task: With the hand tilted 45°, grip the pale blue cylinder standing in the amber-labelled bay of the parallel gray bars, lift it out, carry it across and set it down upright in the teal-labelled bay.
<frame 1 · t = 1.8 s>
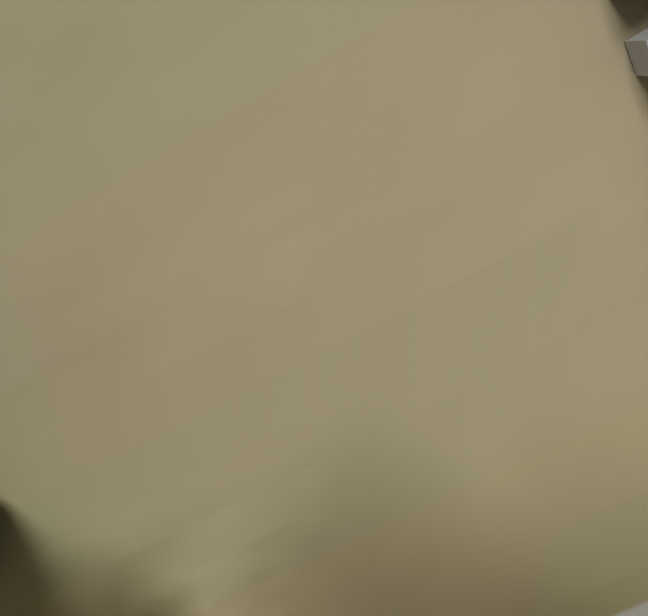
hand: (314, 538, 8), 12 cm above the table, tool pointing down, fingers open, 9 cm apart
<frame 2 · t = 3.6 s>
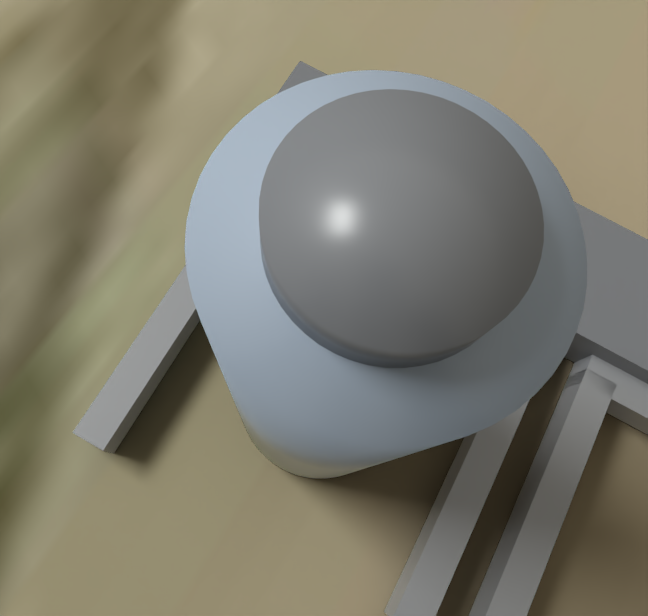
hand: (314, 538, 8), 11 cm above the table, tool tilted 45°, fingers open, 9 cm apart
parallel gray bars: (490, 509, 18), on the table
pale blue cylinder: (320, 395, 19), on the table
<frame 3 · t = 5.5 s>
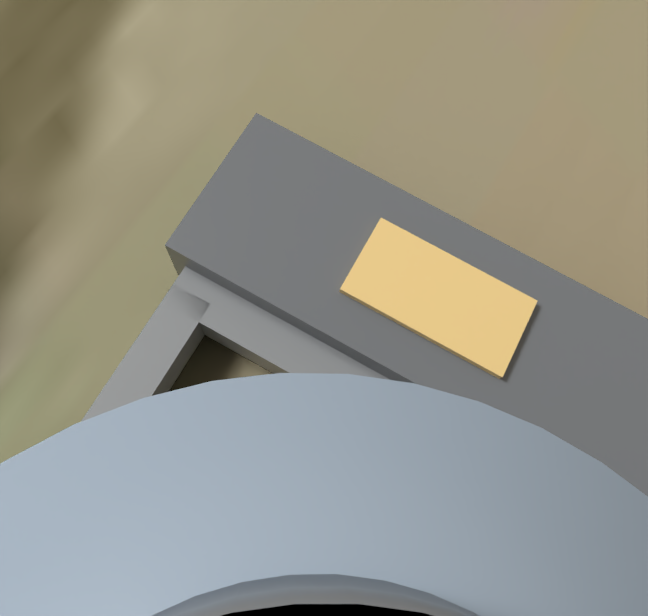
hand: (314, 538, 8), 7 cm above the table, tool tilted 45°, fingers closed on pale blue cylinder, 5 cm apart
pale blue cylinder: (281, 580, 14), on the table, touching gripper
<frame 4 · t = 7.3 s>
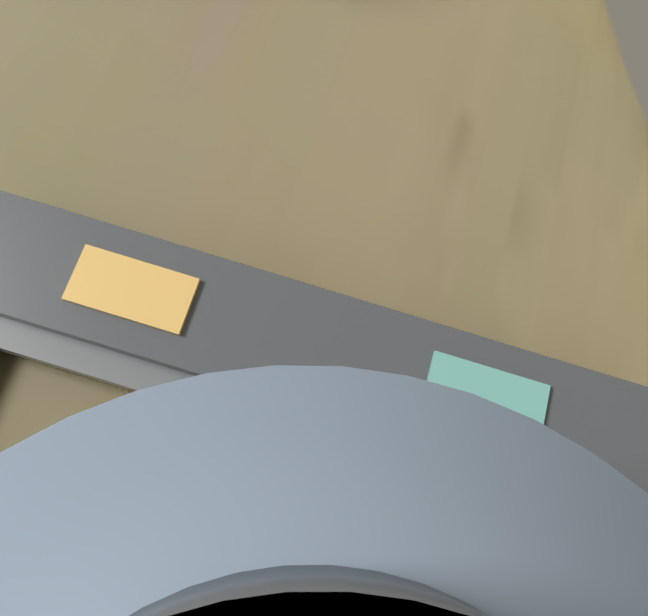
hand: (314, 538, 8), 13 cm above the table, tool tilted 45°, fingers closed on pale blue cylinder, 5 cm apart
parallel gray bars: (238, 571, 20), on the table
pale blue cylinder: (280, 578, 14), point 7 cm above the table, touching gripper
when the fingers open (8 cm above the table, at t = 9.4 s): pale blue cylinder drops 1 cm, on the table.
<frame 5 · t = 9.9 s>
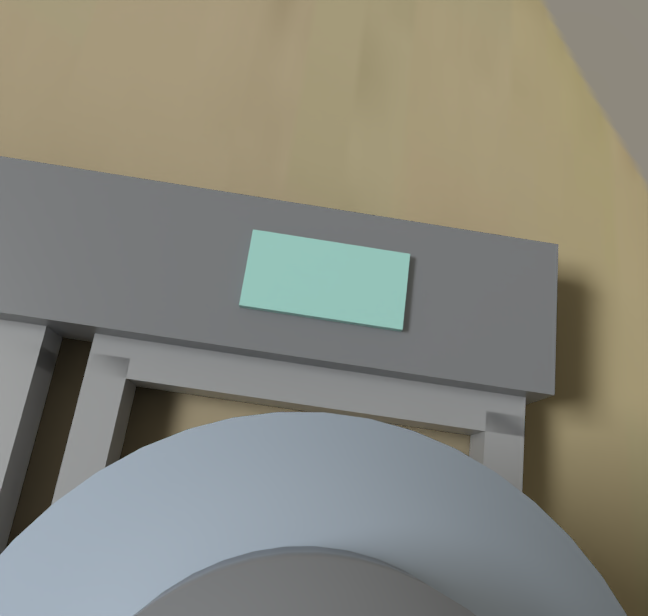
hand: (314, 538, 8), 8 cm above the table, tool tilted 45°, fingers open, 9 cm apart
parallel gray bars: (28, 560, 15), on the table
pale blue cylinder: (280, 573, 15), on the table
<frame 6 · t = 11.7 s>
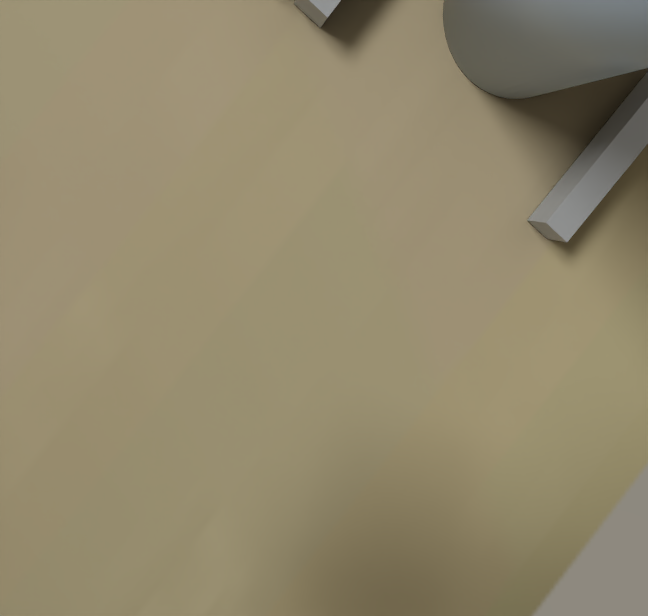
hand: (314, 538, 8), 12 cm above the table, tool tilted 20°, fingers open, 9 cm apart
pale blue cylinder: (519, 14, 19), on the table
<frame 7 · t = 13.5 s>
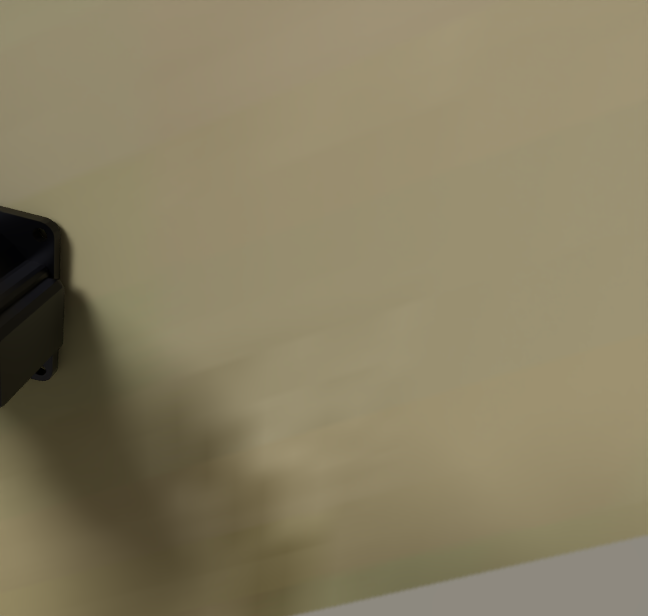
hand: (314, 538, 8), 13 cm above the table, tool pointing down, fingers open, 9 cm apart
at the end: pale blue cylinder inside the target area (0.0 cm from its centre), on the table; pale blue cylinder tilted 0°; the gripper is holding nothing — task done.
